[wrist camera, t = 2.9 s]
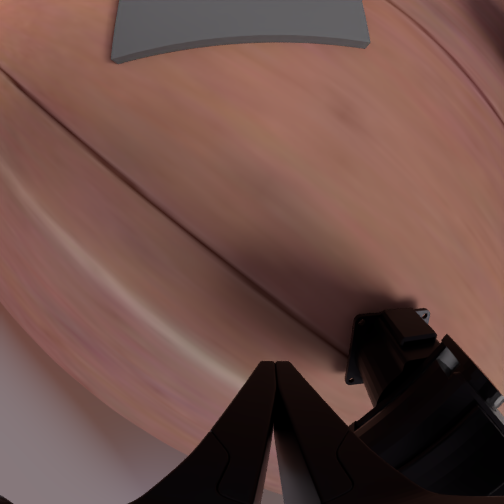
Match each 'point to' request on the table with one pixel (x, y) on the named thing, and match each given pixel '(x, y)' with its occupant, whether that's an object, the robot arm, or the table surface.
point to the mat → (233, 24)
